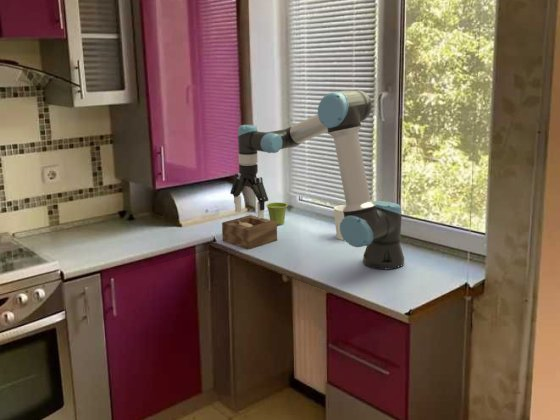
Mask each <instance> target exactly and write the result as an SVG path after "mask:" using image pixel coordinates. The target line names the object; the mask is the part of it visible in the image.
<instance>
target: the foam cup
mask: <svg viewBox="0 0 560 420" xmlns="http://www.w3.org/2000/svg"><path fill="white" fill-rule="evenodd" d="M345 206H346V204H342V205H341V204H340V205H336V206H334V207H333V216H334V223H335V231H336V238H337V240H340V241H345V240H344V239H343V237H342V235H341V233H340V223H341V221H342V220H343V219H344V213H343V209H344V208H345Z"/></svg>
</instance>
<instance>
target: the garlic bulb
mask: <svg viewBox="0 0 560 420" xmlns="http://www.w3.org/2000/svg"><path fill="white" fill-rule="evenodd" d="M238 222H239V225H243V226H246V227H251V226H253V225H251V224H249V223H241V222H240V221H239V220H238Z"/></svg>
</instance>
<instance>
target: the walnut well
mask: <svg viewBox="0 0 560 420" xmlns="http://www.w3.org/2000/svg"><path fill="white" fill-rule="evenodd" d="M238 220H239V221H240V222H241V223H249V224H251V225H253V226H251V227H246V226H243V225H239V222H238ZM221 230H222V231H221V232H222V233H221V235H222V236H221V237H222V242H224V243H228V244H231V245H233V246H237V247H240V248H243V249H246V250H252V249H255V248H258V247H261V246H264V245H268V244H271V243H275V242H278V225H277V222H275V221H271V220H270V219H267V218H264V217H263V218H258V216H255V215H252V214H249V215H245V216H241V217H237V218H235V219H230V220H226V221H223V222H221Z"/></svg>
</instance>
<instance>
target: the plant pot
mask: <svg viewBox="0 0 560 420" xmlns="http://www.w3.org/2000/svg"><path fill="white" fill-rule="evenodd" d="M287 207H288V203H285V202H269V203H267V204H266V208H267V210H268V217H269V220H271V221H275V222H277V226H278V225H280V226H281V225H284V224H285V218H286V217H285V215H286V210H287Z"/></svg>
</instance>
